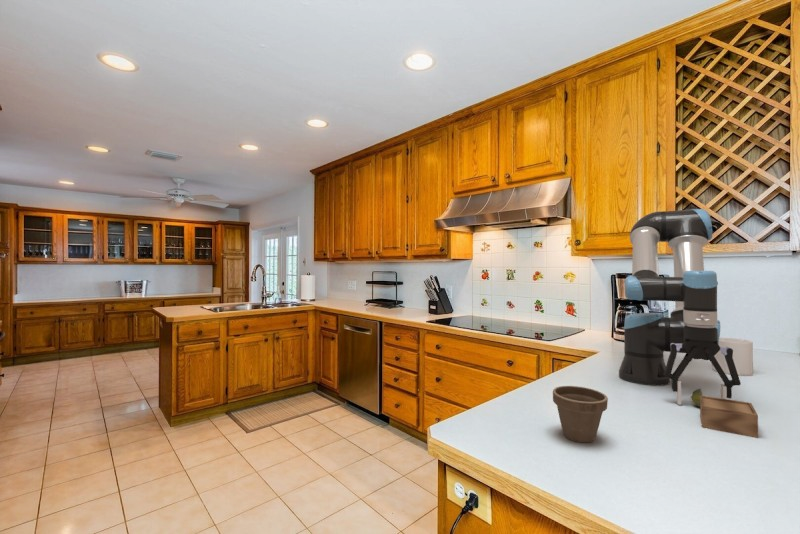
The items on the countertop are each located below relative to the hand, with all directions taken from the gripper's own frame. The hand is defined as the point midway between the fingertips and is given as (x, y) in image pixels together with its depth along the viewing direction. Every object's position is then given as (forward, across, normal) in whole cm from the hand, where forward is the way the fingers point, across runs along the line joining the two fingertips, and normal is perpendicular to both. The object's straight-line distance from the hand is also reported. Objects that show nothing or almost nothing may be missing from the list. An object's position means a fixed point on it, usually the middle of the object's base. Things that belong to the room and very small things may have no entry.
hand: (700, 406), depth 107 cm
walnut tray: (+1, +3, -13) cm, 13 cm away
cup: (+1, +18, +54) cm, 57 cm away
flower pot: (0, -28, -38) cm, 47 cm away
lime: (+1, 0, 0) cm, 1 cm away
